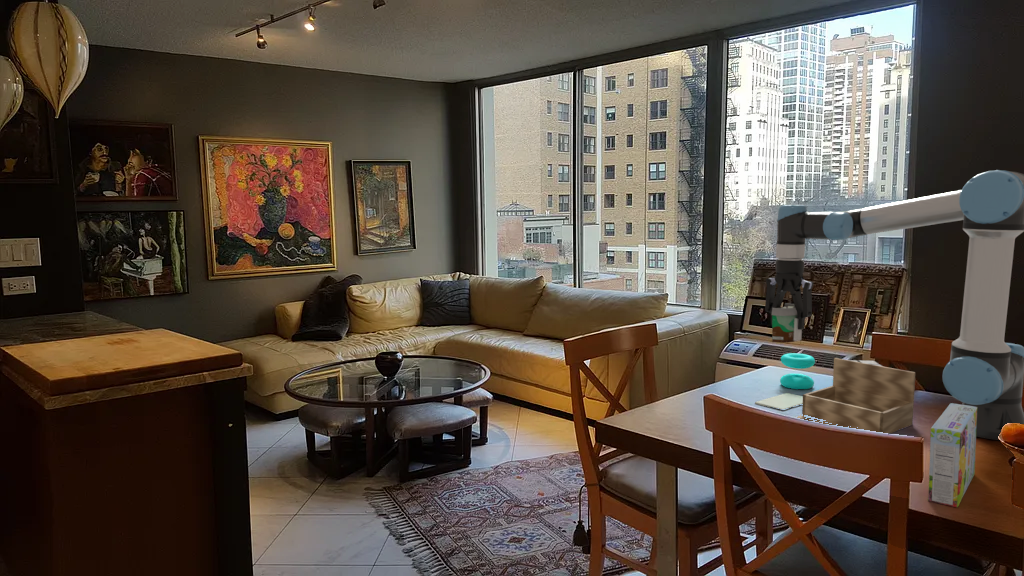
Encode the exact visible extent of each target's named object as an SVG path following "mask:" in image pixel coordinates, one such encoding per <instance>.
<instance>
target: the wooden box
mask: <svg viewBox="0 0 1024 576" xmlns="http://www.w3.org/2000/svg"><path fill="white" fill-rule="evenodd" d="M849 360H850V359H844V358H838V357H834V358H833V372H832V373H833V377H832V385H831V386H827V387H823V388H820V389H817V390H814V391H811V392H806V393H804V394H802V396H803V405H801V406H802V407H801V408H802V409H801V414H800V416H799V415H797V416H798V417H797V418H800V419H804V420H808V421H813V420H809V419H811V418H807V419H805V418H806V417H804V415H808V416H811V417H815V418H818V419H823V420H826V421H823V424H829V423H832V424H829V425H836V424H838V425H837V426H843V427H848V426H849V428H856V429H864V430H870V431H876V432H883V433H891V434H893V433H896V432H898V431H900V430H899V429H901V430H903V429H906V428H909V427H911V426H913V421H914V417H913V416H914V405H915V387H916V386H915V385H916V371H910V370H904V369H899V368H892V367H887V366H883V365H881V366H877V365H872V364H866V363H860V362H855V361H849ZM802 414H803V416H801V415H802ZM814 420H817V419H814ZM819 421H820V420H817V421H815V422H819ZM825 422H828V423H825ZM819 423H822V422H819ZM850 426H851V427H850ZM857 427H858V428H857ZM905 427H906V428H905ZM902 428H903V429H902ZM897 430H898V431H897Z"/></svg>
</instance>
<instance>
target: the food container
mask: <svg viewBox="0 0 1024 576" xmlns="http://www.w3.org/2000/svg"><path fill="white" fill-rule="evenodd" d="M796 317H797V310H796V308H795V306H794V303H787V302H785V303H784V306H781V307H779V308H772V325H771V327H772V328H771V329H772V330H771V335H772V337H771V341H772V343H794V342H795V341H793V340H794V319H795V318H796Z"/></svg>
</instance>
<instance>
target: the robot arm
mask: <svg viewBox="0 0 1024 576" xmlns="http://www.w3.org/2000/svg"><path fill="white" fill-rule="evenodd" d="M958 221H963V223H962V230H963V231H964V232H965V233H966V234H967V235H968V237H969V240H968V249H967V250H968V251H967V258H966V259H967V261H966V269H965V270H966V272H965V280H964V281H965V282H964V291H963V301H962V312H961V323H960V332H959V336H958V338H957V339H955V340H953V341H952V342H951V348H950V358H949V361H948V362H947V363H946V365H945V367H944V369H943V370H942V382H943V386H944V388H945V389H946V391H947V392H948V393H949V394H950V395H951V396H952V398H954V399H955V400H957V401H960V402H961V403H962V404H961V405H968V406H974V407H977V423H976V438H977V437H978V438H982V439H988V440H993V441H995V440H996V441H999V440H998V436H999V434H1000V432H1001V429H1002V427H1003V426H1004V425H1005V424H1007V423H1020V424H1024V408H1023V406H1022V403H1023V402H1022V401H1023V400H1022V399H1023V390H1024V389H1023V388H1024V346H1023V345H1021V344H1018V343H1017V344H1015V343H1012V342H1005V333H1006V325H1007V315H1008V307H1009V297H1010V290H1011V289H1010V287H1011V280H1012V279H1011V278H1012V269H1013V260H1014V253H1015V252H1014V250H1015V241H1016V238H1017V237H1019V236H1020V235H1021V234H1023V233H1024V173H1021V172H1017V171H1009V170H1006V169H1005V170H1000V169H996V170H988V171H984V172H981V173H978V174H976V175H975V176H973V177H972V178H970V179H969V180H968V181H967V182H966V183H965V184H964V186H963V187H962V189H958V190H954V191H948V192H944V193H943V192H942V193H937V194H932V195H927V196H921V197H917V198H912V199H906V200H901V201H895V202H891V203H890V202H889V203H884V204H879V205H874V206H873V205H872V206H868V207H864V208H856V209H851V210H847V211H846V210H845V211H843V210H842V211H808V209H807V205H806V204H782V205H780V206H779V208H778V213H777V220H776V222H777V228H776V229H777V233H776V234H777V235H776V236H777V237H776V251H775V257H776V258H777V259H776V260H775V273H776V274H775V275H774V277H769V278H766V279H765V283H766V296H765V303H764V311H765V312H767V313H769V314H770V325H771V326H772V308H779V307H782V304H783V301H784V298H785V296H786V294H787V292H788V293H790V296H791V297H792V301H793V304H794V306H795V308H796V310H797V317H796V318H795V319H794V340H793V341H794V342H799V341H802V333H803V331H802V330H804V329H805V323H806V322H805V321H806V320H805V319H806V318H808V317H809V318H810V317H812V315H813V299H812V296H813V295H812V294H813V293H812V292H813V291H812V289H813V287H814V281H808V280H805V277H804V272H805V261H804V258H805V255H806V254H805V251H806V239H807V240H811V239H813V240H831V241H840V240H841V241H844V240H847V239H853V238H857V237H860V236H868V235H872V234H874V235H875V234H879V233H884V232H885V233H886V232H892V231H899V230H905V229H913V228H919V227H925V226H931V225H938V224H944V223H952V222H958ZM776 284H777V287H776ZM801 288H802V289H801Z"/></svg>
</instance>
